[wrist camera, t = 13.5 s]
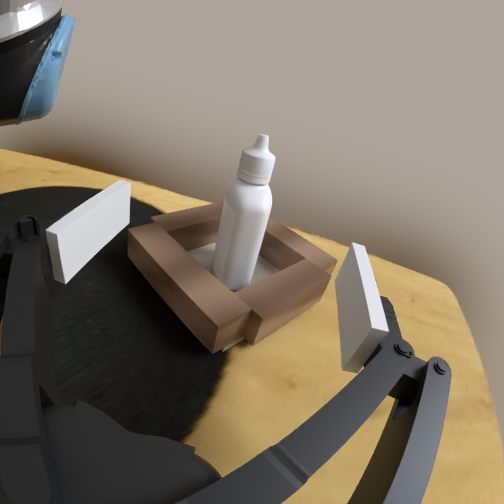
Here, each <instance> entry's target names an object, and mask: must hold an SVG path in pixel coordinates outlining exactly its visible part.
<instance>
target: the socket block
mask: <svg viewBox="0 0 504 504" xmlns="http://www.w3.org/2000/svg"><path fill="white" fill-rule="evenodd" d="M223 205H224V203H223V202H221V203H215V204H210V205H205V206H200V207H195V208H190V209H186V210H181V211H176V212H171V213H167V214H162V215H158V216H153V217H151V221H150V224H146V225H142V226H138V227H134V228H130V229H128V257H129V258H130V259H131V261H132V262H133V263H134V265H135V266H136V267H137V268H138V270H139V271H140V272H141V273H142V275H143V276H144V277H145V278H146V280H147V281H148V282H149V283H150V284H151V286H152V287H153V288H154V289H155V291H156V292H157V293H158V294H159V295H160V296H161V298H162V299H163V300H164V301H165V302H166V304H167V305H168V306H169V307H170V308H171V309H172V310H173V312H174V313H175V314H176V315H177V316H178V317H179V318H180V320H181V321H182V322H183V323H184V324H185V325H186V326H187V327H188V329H189V330H190V331H191V332H192V333H193V334H194V335H195V336H196V337H197V338H198V339H199V341H200V342H201V343H202V344H203V345H204V346H205V347H206V348H207V349H208V350H209V351H210V352H211V353H212V354H214V353H215V352H217V351H219V350H221V351H222V352H224V351H225V350H227V349H229V348H230V347H232V346H234V345H236V344H237V343H239V342H241V341H242V340H244V339H246V340H247V341H248V342H249V343H250V344H251V345H252V346H253V345H255V344H256V343H258V342H259V341H261V340H263V339H264V338H266V337H267V336H269V335H270V334H272V333H273V332H275V331H276V330H278V329H279V328H281V327H282V326H284V325H285V324H287V323H288V322H290V321H291V320H293V319H294V318H296V317H297V316H299V315H300V314H301V313H303V312H304V311H306V310H307V309H309V308H310V307H311V306H313V305H314V304H316V303H317V302H319V301H320V300H321V297H322V295H323V293H324V291H325V289H326V287H327V285H328V283H329V281H330V278H331V274H332V272H333V270H334V267H335V265H336V263H337V261H338V260H336V259H335V258H333V257H332V256H330V255H329V254H327V253H326V252H324V251H323V250H321V249H320V248H318V247H317V246H315V245H314V244H312V243H311V242H309V241H308V240H306V239H304V238H303V237H301V236H300V235H298V234H297V233H295V232H294V231H292V230H291V229H289V228H287V227H286V226H284V225H283V224H281V223H280V222H278V221H276V220H275V219H273V218H272V217H270V216H269V219H268V222H267V226H266V230H265V233H264V237H263V240H262V244H261V247H260V251H259V254H258V258H257V262H256V265H255V269H254V272H253V276H252V279H251V282H250V285H249V286H247V287H245V288H243V289H241V290H239V291H237V290H229V289H228V288H227V287H226V286H225V285H224V284H222V283H221V282H220V281H219V280H218V279H217V278H216V277H215V276H214V275H213V271H212V263H213V257H214V251H215V246H216V241H217V235H218V230H219V225H220V220H221V215H222V210H223Z"/></svg>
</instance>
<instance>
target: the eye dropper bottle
mask: <svg viewBox="0 0 504 504" xmlns="http://www.w3.org/2000/svg"><path fill="white" fill-rule="evenodd" d="M268 140H269V137H268V136H267V135H264V134H259V135H258V137H257V139H256V142H255V144H254V145H253V146H252V147H251V148H247V149H244V150H243V151H242V155H241V159H240V164H239V168H238V173H237V176H238V177H236V178H234V179H233V180H231V182H230V183H229V185H228V187H227V190H226V195H225V200H224V205H223V210H222V215H221V220H220V225H219V230H218V235H217V241H216V246H215V251H214V257H213V263H212V271H213V275H214V276H215V277H216V278H217V279H218V280H219V281H220V282H221V283H222V284H224V285H225V286H226V287H227V288H228V289H229V290H237V291H239V290H241V289H243V288H245V287H247V286H249V285H250V282H251V279H252V276H253V272H254V269H255V265H256V262H257V258H258V254H259V251H260V247H261V244H262V240H263V237H264V233H265V230H266V226H267V222H268V219H269V214H270V211H271V206H272V194H271V191H270V188H269V186H268V183H269V182H270V178H271V174H272V170H273V166H274V163H275V159H276V158H275V156H274V155H272V154H271V153H270V152H269V150H268Z"/></svg>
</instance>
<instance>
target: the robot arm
mask: <svg viewBox="0 0 504 504" xmlns="http://www.w3.org/2000/svg"><path fill="white" fill-rule="evenodd" d="M61 10H62V0H0V126H5V125H12V124H16V125H17V124H20V123H21V122H25V121H30V120H36V119H41V118H43V117H44V116H46V115H47V114H48V113H49V112H50V111H51V110H52V108H53V106H54V103H55V99H56V96H57V92H58V88H59V83H60V80H61V76H62V72H63V67H64V63H65V60H66V56H67V52H68V48H69V45H70V40H71V37H72V33H73V29H74V22H75V18H74V17H73V16H69V15H67V14H66V15H64V16H61ZM130 189H131V182H127V181H123V180H119V181H118V182H116V183H114V184H113V185H111V186H109V187H108V188H106V189H105V190H103V191H101V192H100V193H98V194H97V195H95V196H94V197H92V198H91V199H89V200H87V201H86V202H84V203H83V204H81V205H80V206H79V207H77V208H76V209H73V210H70V211H68V212H65V213H64V214H62V215H61V216H59V218H56V219H55V220H54V221H52V222H51V223H49V224H48V225H47V226H45V227H44V228H43V229H41V230H39V224H38V218H37V217H36V216H34V215H26V216H22V217H20V218H18V219H17V220H16V221H15V222H14V229H15V234H16V238H9V235H8V231H7V229H5V228H0V322H1V319H2V316H3V327H2V344H1V345H2V346H1V357H0V504H281V503H282V502H284V501H285V500H286V499H287V498H289V497H290V496H291V495H292V494H294V493H295V492H296V491H297V490H298V489H299V488H301V487H302V486H303V485H304V484H305V483H306V482H307V480H308V478H309V477H310V476H311V475H313V474H314V473H315V472H316V471H317V470H318V469H319V468H320V467H321V466H322V465H323V464H325V463H326V462H327V461H328V460H329V459H330V458H331V457H332V456H333V455H334V454H335V453H336V452H337V451H338V450H339V449H340V448H341V447H342V446H343V445H344V444H345V443H346V442H347V441H348V440H349V439H350V437H351V436H352V435H353V434H354V433H355V432H356V431H357V430H358V429H359V428H360V427H361V425H362V424H363V423H364V422H365V421H366V420H367V419H368V418H369V416H370V415H371V414H372V413H373V412H374V410H375V409H376V408H377V407H378V406H379V404H380V403H381V402H382V401H383V400H384V398H385V397H386V396H387V395H389V396H391V397H393V398H395V401H394V404H393V407H392V410H391V412H390V415H389V418H388V420H387V423H386V425H385V428H384V430H383V432H382V435H381V437H380V440H379V442H378V444H377V446H376V449H375V451H374V453H373V455H372V457H371V459H370V462H369V464H368V466H367V468H366V470H365V472H364V474H363V476H362V478H361V480H360V482H359V483H358V485H357V487H356V489H355V491H354V493H353V494H352V496H351V498H350V500H349V502H348V503H347V504H421V502H422V499H423V496H424V494H425V491H426V488H427V485H428V482H429V479H430V475H431V472H432V469H433V465H434V462H435V458H436V455H437V451H438V447H439V443H440V438H441V434H442V430H443V425H444V420H445V415H446V409H447V403H448V397H449V390H450V383H451V369H450V366H449V365H448V363H447V362H446V361H445V360H443V359H442V358H440V357H432V358H430V360H429V361H428V362H425V361H423V360H421V359H419V358H417V357H415V354H414V350H413V348H412V346H411V345H410V344H409V343H408V342H406V341H405V340H403V339H402V336H401V332H400V329H399V325H398V322H397V318H396V315H395V312H394V308H393V305H392V304H391V302H390V301H389V300H388V298H386V297H383V296H380V295H379V292H378V288H377V285H376V281H375V278H374V275H373V271H372V268H371V265H370V262H369V259H368V255H367V252H366V249H365V247H364V246H362V245H359V244H356V243H352V244H351V246H350V249H349V251H348V253H347V255H346V258H345V260H344V262H343V264H342V266H341V269H340V271H339V273H338V275H337V277H336V279H335V288H336V298H337V308H338V320H339V332H340V346H341V362H342V371H348V372H353V373H358V372H359V371H360V369H361V368H362V367H363V366H364V369H363V370H362V371H361V372H360V373H359V374H358V375H357V376H356V377H355V378H354V379H353V380H351V381H350V382H349V383H348V384H347V385H346V386H345V387H344V388H343V389H342V390H341V391H340V392H339V393H338V394H337V395H335V396H334V397H333V398H332V399H331V400H330V401H329V402H328V403H327V404H325V405H324V406H323V407H322V408H321V409H320V410H318V411H317V412H316V413H315V414H314V415H313V416H311V417H310V418H309V419H308V420H307V421H305V422H304V423H303V424H302V425H300V426H299V427H298V428H297V429H295V430H294V431H293V432H292V433H290V434H289V435H288V436H286V437H285V438H284V439H282V440H281V441H280V442H278V443H277V444H276V445H274V446H271V447H269V448H268V449H266V450H265V451H263V452H262V453H260V454H259V455H257V456H256V457H254V458H253V459H251V460H250V461H248V462H247V463H245V464H244V465H242V466H241V467H239V468H238V469H236V470H235V471H233V472H231V473H230V474H228V475H226V476H225V477H223V478H222V477H221V476H220V474H219V473H218V472H217V471H216V470H215V468H214V467H213V466H211V465H210V464H209V463H208V462H207V461H205V460H204V459H203V458H201V457H200V456H198V455H196V454H194V452H195V448H196V447H193V446H189V445H186V444H183V443H180V442H177V441H174V440H171V439H168V438H165V437H159V436H151V435H144V434H138V433H132V432H130V431H128V430H126V429H125V428H124V427H122V426H121V425H120V424H118V423H117V422H116V421H115V420H113V419H112V418H111V417H109V416H108V415H107V414H106V413H104V412H103V411H101V410H98V409H96V408H94V407H92V406H90V405H89V404H87V403H85V402H83V401H81V400H78V402H77V403H76V405H69V404H62V403H61V400H60V398H59V394H58V389H57V383H56V376H55V369H54V361H53V352H52V341H51V328H50V306H49V276H48V273H49V272H50V271H51V270H52V269H53V274H54V278H55V280H58V281H60V282H62V283H64V284H66V283H67V282H68V281H69V280H70V279H71V278H72V277H73V276H74V275H75V274H76V273H77V272H78V271H79V270H80V269H81V268H82V267H83V266H84V265H85V264H86V263H87V262H88V261H89V260H90V259H91V258H92V257H93V256H94V255H95V254H96V253H97V252H98V251H99V250H101V249H102V248H103V247H104V246H105V245H106V244H107V243H108V242H109V241H110V240H111V239H112V238H113V237H114V236H115V235H117V234H118V233H119V232H120V231H121V230H122V229H123V228H124V227H125V226H127V225H128V224H129V217H130ZM3 314H4V315H3Z"/></svg>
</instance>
